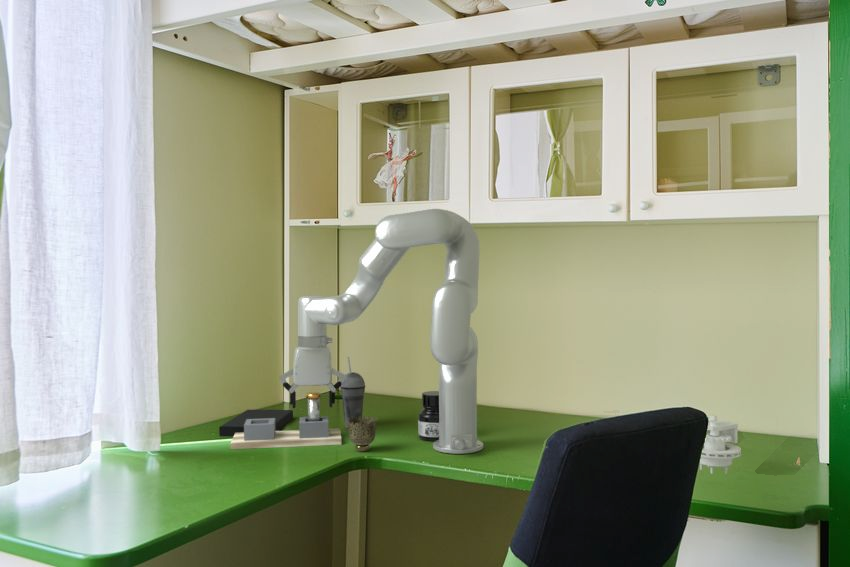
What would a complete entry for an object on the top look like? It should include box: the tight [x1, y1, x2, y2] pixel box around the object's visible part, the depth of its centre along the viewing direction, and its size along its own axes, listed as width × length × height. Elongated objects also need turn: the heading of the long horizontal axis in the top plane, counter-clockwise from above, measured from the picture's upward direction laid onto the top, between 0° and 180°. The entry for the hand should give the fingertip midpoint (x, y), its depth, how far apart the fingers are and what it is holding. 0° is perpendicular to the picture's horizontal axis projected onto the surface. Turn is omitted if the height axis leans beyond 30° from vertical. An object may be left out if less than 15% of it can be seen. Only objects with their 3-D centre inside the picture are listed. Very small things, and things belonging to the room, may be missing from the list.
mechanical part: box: [699, 415, 742, 475], centre depth 172 cm, size 11×12×12 cm
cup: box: [347, 415, 378, 453], centre depth 192 cm, size 8×7×8 cm
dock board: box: [229, 428, 342, 450], centre depth 202 cm, size 12×28×2 cm, turn 98°
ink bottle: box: [417, 390, 439, 442], centre depth 205 cm, size 10×9×12 cm
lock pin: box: [305, 391, 322, 422], centre depth 203 cm, size 4×4×11 cm
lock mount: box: [298, 415, 329, 438], centre depth 203 cm, size 8×8×4 cm
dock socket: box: [244, 418, 275, 441], centre depth 201 cm, size 8×8×4 cm
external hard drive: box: [218, 409, 294, 437], centre depth 220 cm, size 14×23×3 cm, turn 175°
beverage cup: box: [339, 356, 366, 429], centre depth 218 cm, size 7×7×20 cm
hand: (312, 406), depth 203 cm, fingers open, 9 cm apart
